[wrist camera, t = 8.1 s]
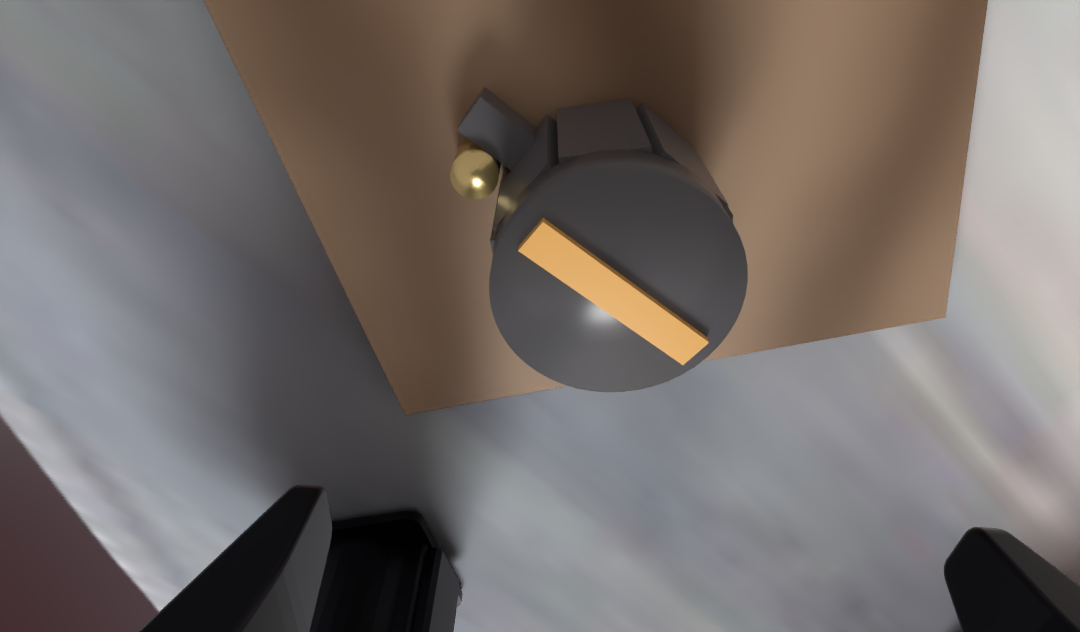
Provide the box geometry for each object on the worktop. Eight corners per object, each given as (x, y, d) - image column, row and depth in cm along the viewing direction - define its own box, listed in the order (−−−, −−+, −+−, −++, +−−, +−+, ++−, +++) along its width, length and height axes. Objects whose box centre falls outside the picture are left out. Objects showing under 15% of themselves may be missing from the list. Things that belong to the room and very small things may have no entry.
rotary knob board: (410, 396, 23) (379, 505, 19) (213, -24, 15) (89, 3, 11) (928, 300, 20) (1027, 402, 16) (993, -258, 13) (1205, -336, 9)
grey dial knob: (741, 186, 17) (806, 280, 13) (609, 316, 19) (626, 432, 15) (538, 10, 15) (533, 53, 10) (416, 182, 17) (371, 275, 13)
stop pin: (465, 180, 17) (458, 203, 16) (452, 138, 17) (443, 159, 15) (507, 171, 17) (503, 193, 16) (495, 128, 16) (490, 148, 15)
